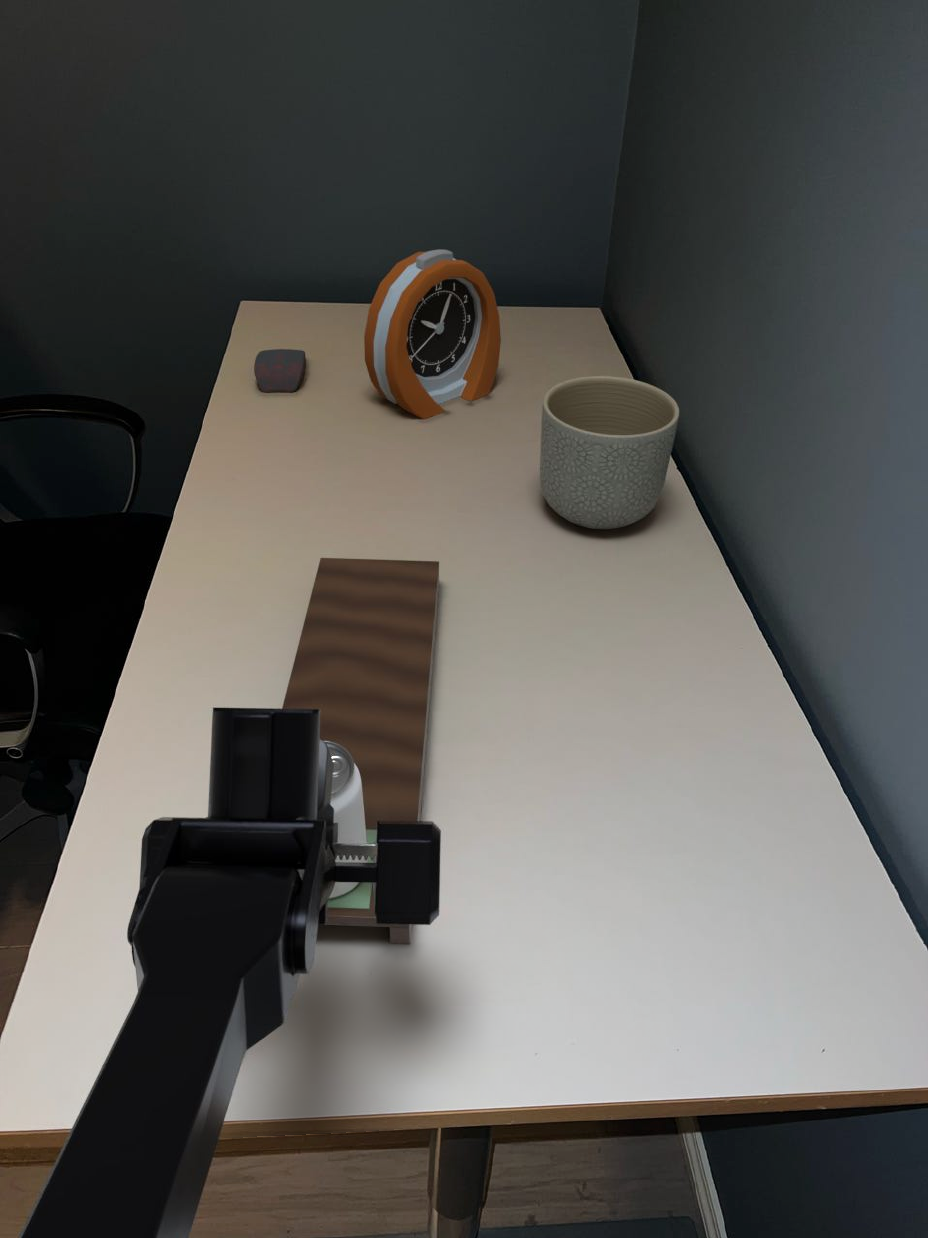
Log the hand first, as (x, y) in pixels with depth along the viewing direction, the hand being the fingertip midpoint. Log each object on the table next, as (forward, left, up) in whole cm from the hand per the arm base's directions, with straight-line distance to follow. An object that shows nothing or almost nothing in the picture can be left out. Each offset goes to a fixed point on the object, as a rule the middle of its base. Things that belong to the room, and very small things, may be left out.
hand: (313, 851), depth 67 cm
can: (+4, +1, -8) cm, 9 cm away
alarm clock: (+94, +30, -11) cm, 99 cm away
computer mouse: (+91, +57, -11) cm, 107 cm away
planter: (+71, -3, -11) cm, 72 cm away
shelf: (+22, +8, -11) cm, 26 cm away
